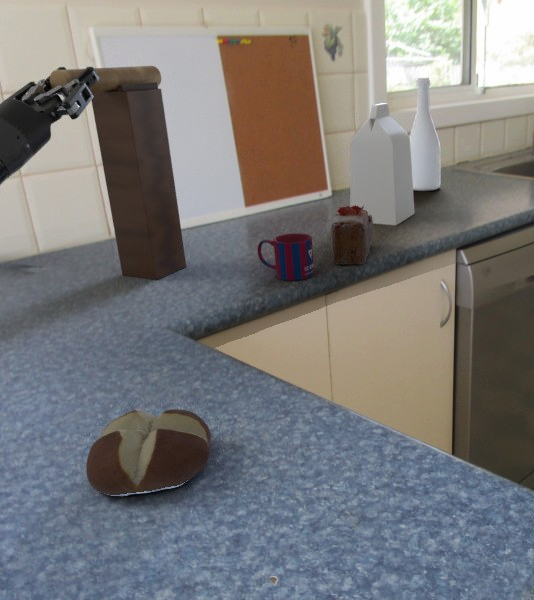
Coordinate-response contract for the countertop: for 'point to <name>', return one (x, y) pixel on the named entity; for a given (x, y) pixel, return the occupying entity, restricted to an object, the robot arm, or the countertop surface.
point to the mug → (291, 256)
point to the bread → (148, 452)
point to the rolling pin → (109, 77)
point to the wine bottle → (424, 143)
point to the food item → (351, 235)
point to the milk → (382, 169)
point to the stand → (140, 179)
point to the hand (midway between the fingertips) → (79, 72)
